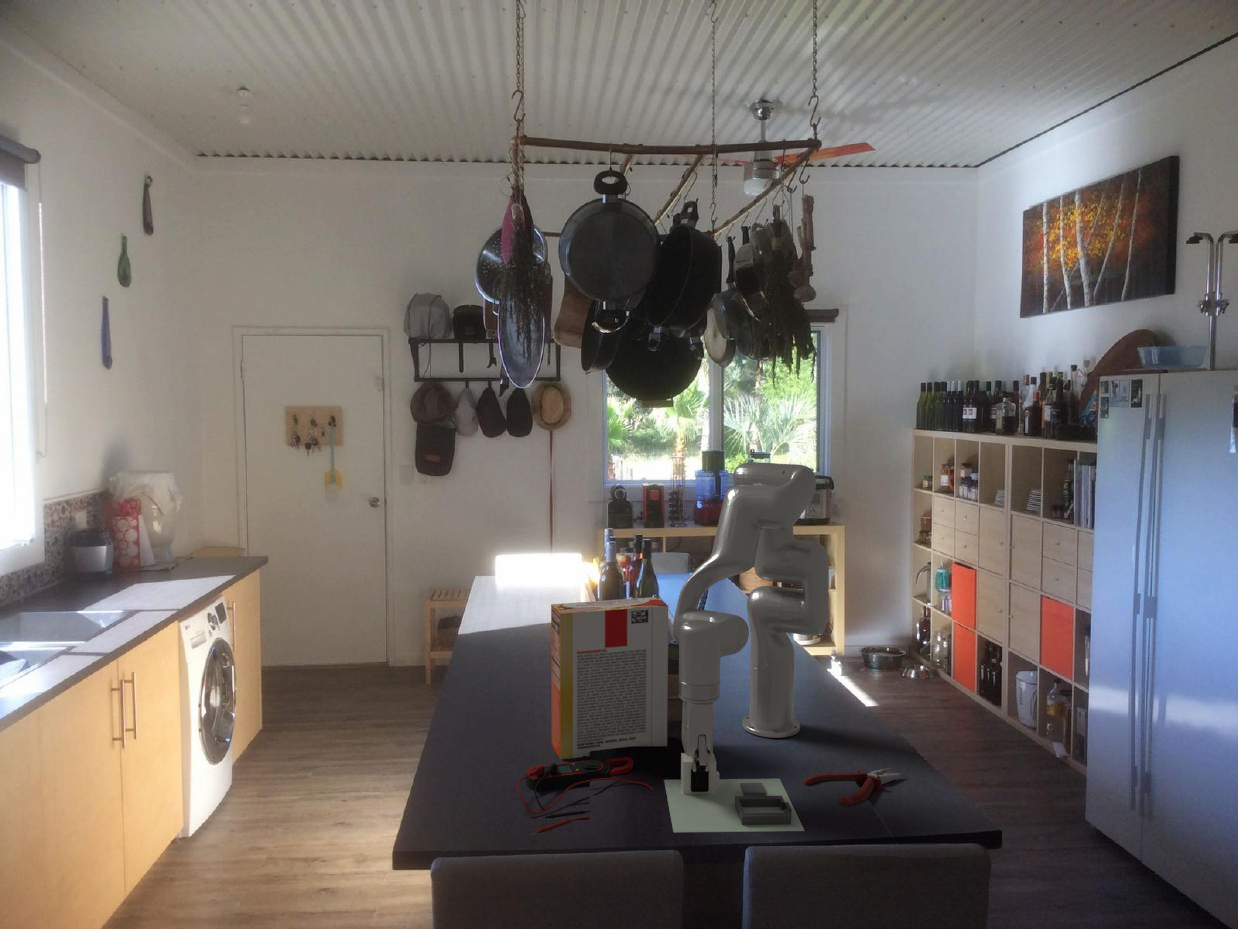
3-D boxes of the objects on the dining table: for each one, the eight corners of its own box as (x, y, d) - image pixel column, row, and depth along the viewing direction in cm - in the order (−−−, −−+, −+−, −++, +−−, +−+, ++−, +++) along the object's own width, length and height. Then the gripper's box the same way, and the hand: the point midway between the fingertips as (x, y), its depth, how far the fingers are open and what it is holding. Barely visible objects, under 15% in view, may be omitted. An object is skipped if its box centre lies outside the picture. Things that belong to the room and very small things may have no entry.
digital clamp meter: (506, 757, 171) (630, 743, 178) (506, 780, 171) (630, 765, 178) (528, 812, 149) (669, 793, 156) (529, 838, 149) (669, 818, 156)
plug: (680, 784, 166) (681, 753, 166) (717, 783, 166) (717, 752, 166) (683, 794, 162) (683, 762, 162) (720, 793, 162) (720, 761, 162)
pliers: (921, 788, 168) (921, 775, 168) (844, 815, 157) (845, 801, 157) (874, 767, 178) (874, 754, 177) (799, 791, 167) (799, 777, 167)
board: (663, 785, 168) (663, 776, 168) (779, 783, 169) (779, 775, 169) (673, 838, 148) (673, 828, 148) (804, 836, 149) (804, 827, 149)
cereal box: (654, 732, 194) (655, 597, 191) (667, 746, 186) (668, 605, 184) (551, 744, 187) (551, 604, 185) (560, 759, 179) (560, 613, 177)
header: (734, 804, 158) (734, 796, 158) (784, 803, 158) (785, 795, 158) (741, 825, 151) (741, 816, 150) (794, 824, 151) (794, 816, 151)
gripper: (674, 674, 171) (673, 767, 172) (683, 705, 154) (682, 807, 156) (713, 674, 171) (712, 766, 173) (726, 705, 154) (725, 806, 156)
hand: (698, 784), depth 164 cm, fingers closed on plug, 3 cm apart
